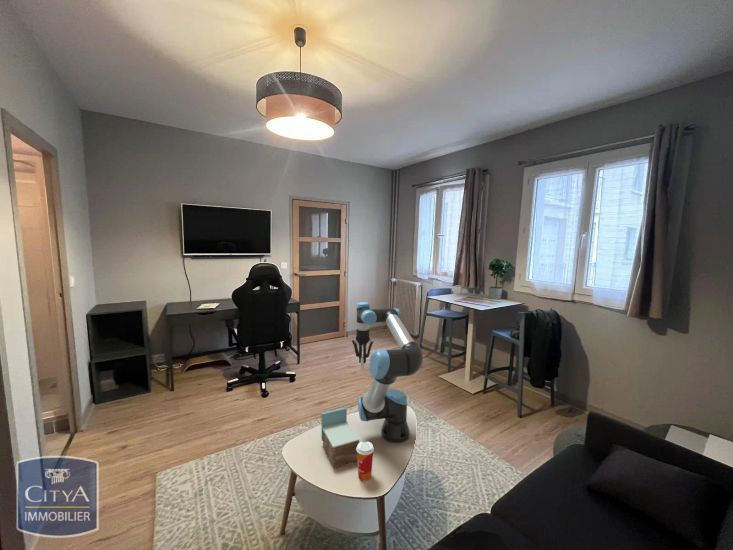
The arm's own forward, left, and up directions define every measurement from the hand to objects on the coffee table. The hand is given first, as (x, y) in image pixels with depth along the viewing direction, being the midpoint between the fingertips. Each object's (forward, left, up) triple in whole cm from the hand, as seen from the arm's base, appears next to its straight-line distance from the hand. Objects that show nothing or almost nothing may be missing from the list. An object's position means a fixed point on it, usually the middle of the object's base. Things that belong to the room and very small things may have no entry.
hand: (362, 368), depth 178 cm
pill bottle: (-14, +46, -30) cm, 56 cm away
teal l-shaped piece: (+2, +34, -26) cm, 43 cm away
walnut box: (+1, +35, -29) cm, 46 cm away
